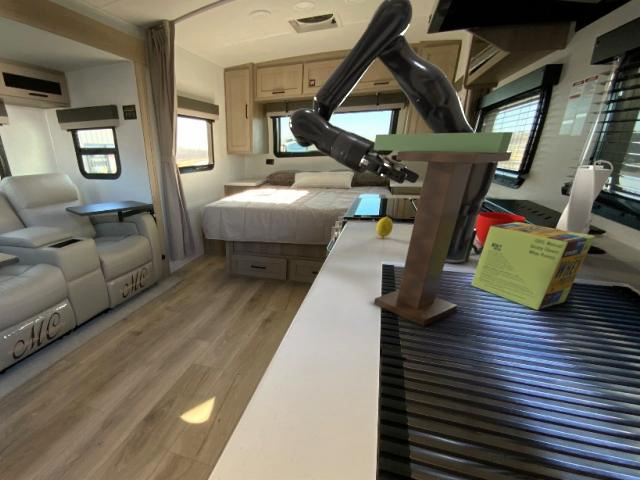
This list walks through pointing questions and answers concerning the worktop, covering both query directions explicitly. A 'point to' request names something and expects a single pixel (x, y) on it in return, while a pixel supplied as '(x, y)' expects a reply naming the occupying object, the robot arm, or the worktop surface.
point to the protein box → (530, 263)
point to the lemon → (384, 227)
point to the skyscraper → (583, 197)
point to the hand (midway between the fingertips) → (411, 179)
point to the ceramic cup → (493, 223)
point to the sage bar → (445, 142)
